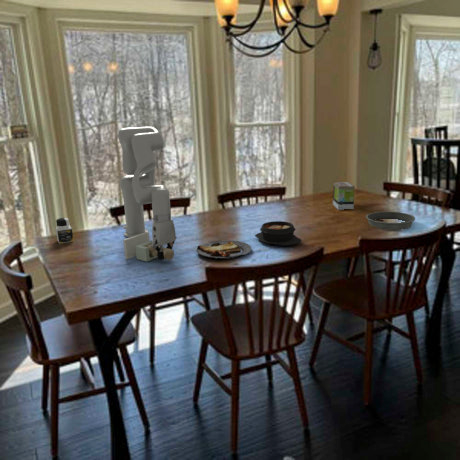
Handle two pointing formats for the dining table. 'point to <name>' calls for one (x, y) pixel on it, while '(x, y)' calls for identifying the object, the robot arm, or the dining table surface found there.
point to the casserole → (278, 233)
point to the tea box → (343, 195)
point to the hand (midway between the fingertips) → (165, 257)
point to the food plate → (223, 249)
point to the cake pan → (390, 215)
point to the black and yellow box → (64, 231)
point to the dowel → (167, 252)
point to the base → (134, 244)
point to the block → (144, 252)
